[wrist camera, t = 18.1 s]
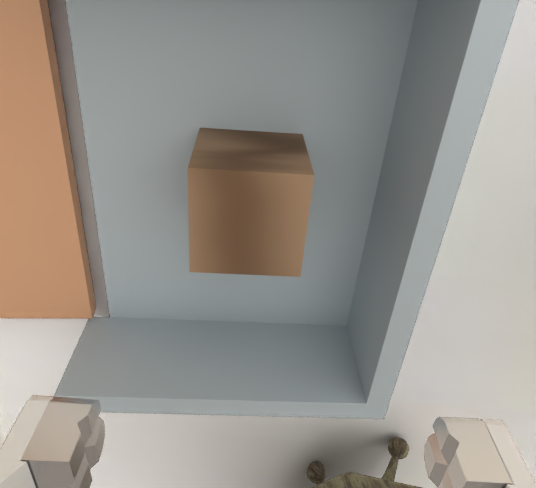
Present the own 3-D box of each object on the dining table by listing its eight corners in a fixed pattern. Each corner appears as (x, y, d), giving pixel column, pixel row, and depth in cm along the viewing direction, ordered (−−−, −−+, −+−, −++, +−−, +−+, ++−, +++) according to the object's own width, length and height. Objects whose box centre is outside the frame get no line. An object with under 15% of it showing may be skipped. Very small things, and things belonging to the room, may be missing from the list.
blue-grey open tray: (451, -64, 19) (542, -74, 13) (358, 327, 31) (384, 419, 25) (31, -104, 18) (-81, -134, 12) (97, 318, 30) (57, 411, 24)
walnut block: (302, 134, 22) (314, 175, 18) (292, 222, 25) (300, 276, 21) (199, 127, 22) (187, 167, 18) (200, 218, 25) (189, 272, 21)
